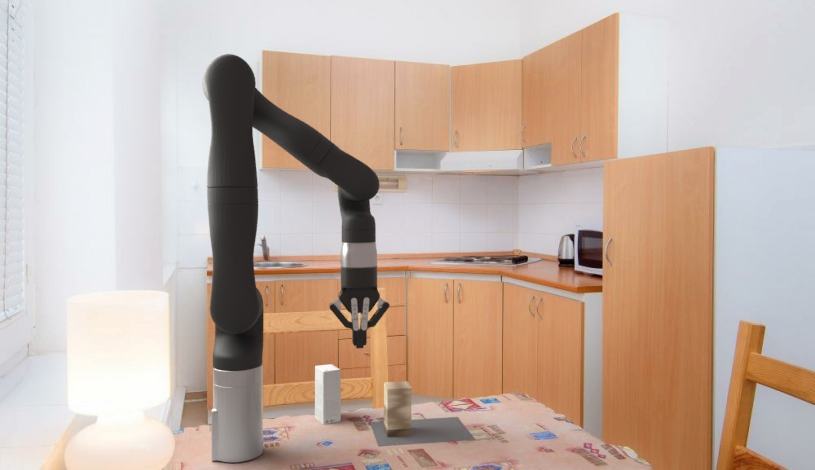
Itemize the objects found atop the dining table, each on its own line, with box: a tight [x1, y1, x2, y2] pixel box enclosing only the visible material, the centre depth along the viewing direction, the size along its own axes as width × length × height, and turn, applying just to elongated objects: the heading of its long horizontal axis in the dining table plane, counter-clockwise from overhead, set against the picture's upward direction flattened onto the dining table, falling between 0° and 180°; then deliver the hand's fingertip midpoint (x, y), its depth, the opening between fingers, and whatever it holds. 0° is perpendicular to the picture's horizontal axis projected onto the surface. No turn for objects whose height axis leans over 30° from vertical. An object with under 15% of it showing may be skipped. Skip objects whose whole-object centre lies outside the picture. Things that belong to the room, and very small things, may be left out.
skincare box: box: [314, 363, 342, 425], centre depth 137 cm, size 6×4×12 cm
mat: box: [369, 416, 476, 447], centre depth 129 cm, size 20×14×1 cm
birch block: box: [383, 381, 412, 437], centre depth 128 cm, size 5×5×10 cm
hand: (359, 347), depth 126 cm, fingers closed
